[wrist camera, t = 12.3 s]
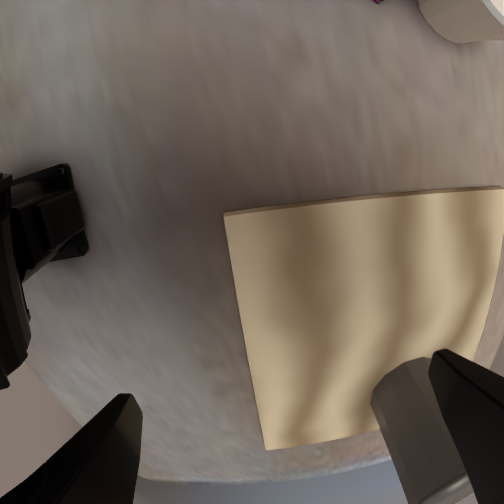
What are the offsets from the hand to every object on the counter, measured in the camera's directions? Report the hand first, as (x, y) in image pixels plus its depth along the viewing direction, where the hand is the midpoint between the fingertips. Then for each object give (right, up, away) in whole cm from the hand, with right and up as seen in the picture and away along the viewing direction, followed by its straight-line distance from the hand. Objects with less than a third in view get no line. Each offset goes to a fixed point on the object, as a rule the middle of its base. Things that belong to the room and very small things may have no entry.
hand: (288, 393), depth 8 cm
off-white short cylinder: (+13, +22, +6) cm, 26 cm away
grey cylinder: (+13, -9, +17) cm, 23 cm away
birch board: (+10, -3, +16) cm, 19 cm away
